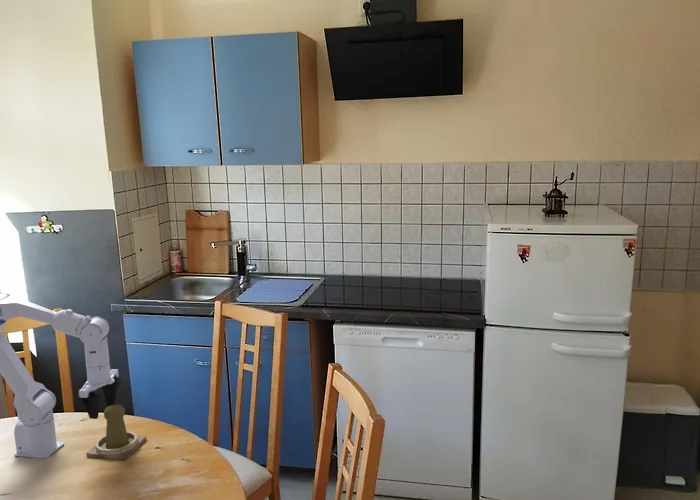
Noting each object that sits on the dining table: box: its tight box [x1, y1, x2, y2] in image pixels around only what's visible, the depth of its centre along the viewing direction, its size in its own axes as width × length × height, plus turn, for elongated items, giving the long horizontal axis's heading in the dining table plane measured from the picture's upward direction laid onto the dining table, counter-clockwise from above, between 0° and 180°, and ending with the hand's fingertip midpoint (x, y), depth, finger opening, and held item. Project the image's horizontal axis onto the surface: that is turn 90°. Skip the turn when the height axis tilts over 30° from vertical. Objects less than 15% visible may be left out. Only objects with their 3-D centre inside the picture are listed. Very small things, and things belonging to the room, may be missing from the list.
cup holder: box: [85, 430, 147, 461], centre depth 161 cm, size 11×11×2 cm
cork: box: [103, 404, 129, 449], centre depth 160 cm, size 6×6×11 cm
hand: (102, 411), depth 160 cm, fingers open, 7 cm apart
